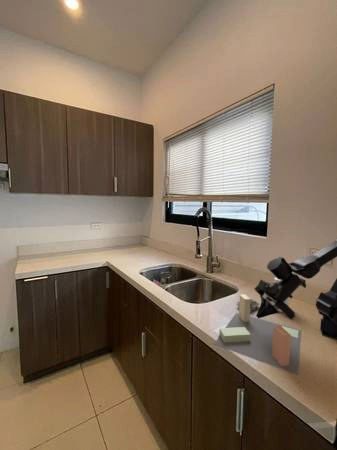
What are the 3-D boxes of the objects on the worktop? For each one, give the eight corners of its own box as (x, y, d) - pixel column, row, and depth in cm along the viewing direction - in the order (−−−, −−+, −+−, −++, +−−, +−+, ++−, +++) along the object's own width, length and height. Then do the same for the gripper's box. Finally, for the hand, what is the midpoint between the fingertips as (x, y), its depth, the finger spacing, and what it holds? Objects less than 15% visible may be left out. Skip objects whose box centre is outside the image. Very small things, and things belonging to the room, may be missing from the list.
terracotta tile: (279, 354, 73) (280, 326, 72) (288, 365, 68) (290, 334, 68) (272, 355, 73) (273, 326, 72) (281, 366, 68) (283, 335, 67)
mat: (301, 331, 88) (301, 330, 88) (297, 376, 65) (297, 374, 65) (236, 313, 102) (236, 312, 102) (213, 345, 79) (213, 343, 79)
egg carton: (248, 315, 101) (248, 307, 101) (234, 309, 107) (234, 301, 107) (260, 308, 108) (261, 300, 108) (247, 303, 114) (247, 295, 114)
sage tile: (244, 327, 85) (219, 328, 84) (250, 334, 80) (224, 335, 79) (244, 333, 86) (219, 334, 85) (250, 340, 81) (224, 342, 80)
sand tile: (244, 315, 99) (245, 294, 98) (249, 321, 94) (250, 299, 93) (238, 316, 99) (239, 294, 98) (243, 322, 94) (244, 299, 93)
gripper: (259, 266, 91) (233, 293, 91) (288, 281, 73) (255, 315, 73) (276, 283, 93) (250, 310, 93) (309, 303, 74) (277, 336, 74)
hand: (257, 317), depth 83 cm, fingers closed
